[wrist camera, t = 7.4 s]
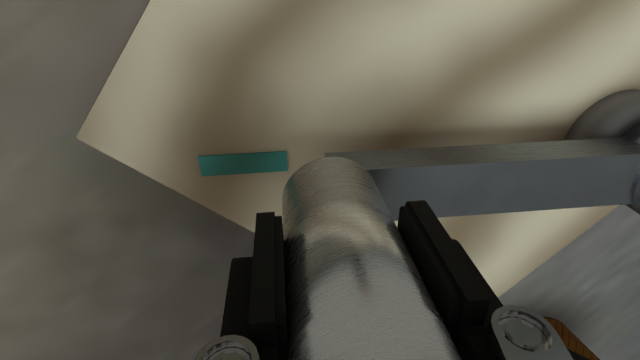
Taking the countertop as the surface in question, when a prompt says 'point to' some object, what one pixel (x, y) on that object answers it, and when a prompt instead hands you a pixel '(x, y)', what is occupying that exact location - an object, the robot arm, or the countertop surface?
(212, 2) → the lever board
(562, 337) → the disposable coffee cup
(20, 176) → the countertop surface
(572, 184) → the lever
